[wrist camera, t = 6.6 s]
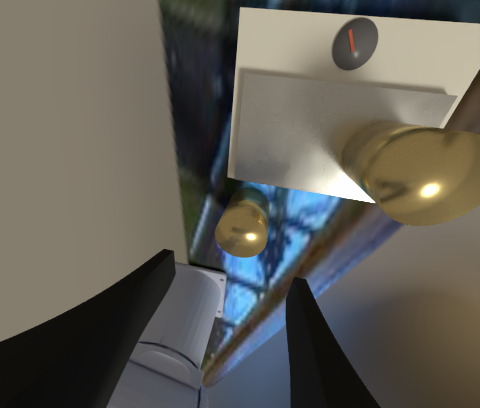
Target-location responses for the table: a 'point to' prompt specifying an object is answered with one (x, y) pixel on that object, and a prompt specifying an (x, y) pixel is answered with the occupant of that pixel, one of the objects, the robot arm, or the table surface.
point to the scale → (354, 54)
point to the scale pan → (318, 129)
